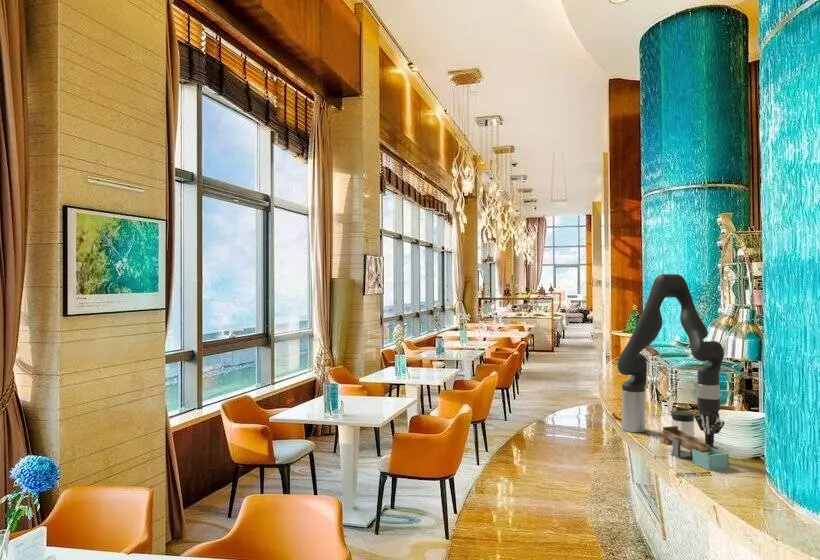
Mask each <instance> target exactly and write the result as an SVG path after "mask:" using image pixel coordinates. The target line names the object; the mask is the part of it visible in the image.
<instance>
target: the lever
mask: <svg viewBox="0 0 820 560" xmlns="http://www.w3.org/2000/svg"><path fill="white" fill-rule="evenodd" d="M662 436H663V441H662V442H663V444H664V445H666V446H673V438H675V439H678V440H680V447H682V448H685V449H686V450H688V451H689V452H690V451H691V452H692V449H694V450H697V451H699V452H702V453H705V454H707V453H710V447H711V448H714V449H716V450H718V447H717V446H715V445H714V444H713V445H708V444H706V442H704V441H702V440H700V439H699V438H698V439H696V438H697V437H695V438H694V437H692V436H690V435H688V434H686V433H684V432H683V431H681V430H679V429H678V426H672V425H671V426H663V427H662Z"/></svg>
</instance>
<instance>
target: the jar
mask: <svg viewBox="0 0 820 560" xmlns="http://www.w3.org/2000/svg"><path fill="white" fill-rule="evenodd" d="M671 426H678V429H679V430H681V431H683V432H684V433H686V434H688V435H690V436H692V437H694V435H696V431H695V428H696V427H695V426H696V425H695V413H693V412H691V411H686V410H684V411H683V410H675V411H672V412H671Z"/></svg>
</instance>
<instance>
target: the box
mask: <svg viewBox="0 0 820 560" xmlns="http://www.w3.org/2000/svg"><path fill="white" fill-rule="evenodd" d="M729 455H730V454H729V453H727V452H724V451H721V450H719V449H717V450H716V449H714V448H711V447H710V452H707V453H702V452H699V451H697V450H694V449H692V458H691V459H692V460H691V463H692V464H693V463H694V464H693V465H696V464H697V465H696V466H698V465H699V467H700V466H701V467H700V468H704V469H705V468H706V470H708V471H715V470H717V471H718V470H726V469H729V468H730V467H729V466H730V465H729V463H730V462H729V460H730V459H729Z"/></svg>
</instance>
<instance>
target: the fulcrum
mask: <svg viewBox="0 0 820 560" xmlns="http://www.w3.org/2000/svg"><path fill="white" fill-rule="evenodd" d="M694 438H696V439H698V440H699V438H698V437H694ZM670 456H672V457H674V456H675V458H677V459H679V460H682V459H690V458H689V457H692V452H691V451H690V450H689V451H683V452H681V445H680V440H678V439H675V438H673V445H672V453H670ZM681 458H682V459H681Z"/></svg>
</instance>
